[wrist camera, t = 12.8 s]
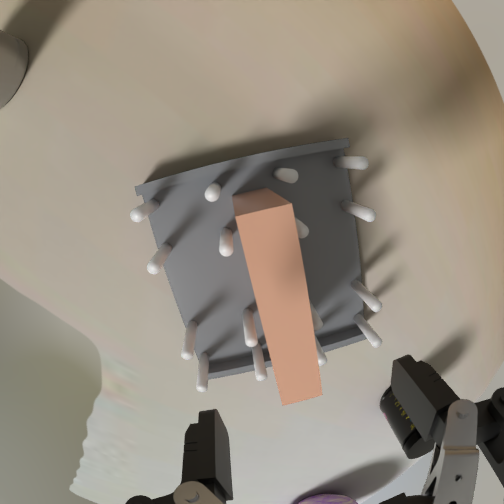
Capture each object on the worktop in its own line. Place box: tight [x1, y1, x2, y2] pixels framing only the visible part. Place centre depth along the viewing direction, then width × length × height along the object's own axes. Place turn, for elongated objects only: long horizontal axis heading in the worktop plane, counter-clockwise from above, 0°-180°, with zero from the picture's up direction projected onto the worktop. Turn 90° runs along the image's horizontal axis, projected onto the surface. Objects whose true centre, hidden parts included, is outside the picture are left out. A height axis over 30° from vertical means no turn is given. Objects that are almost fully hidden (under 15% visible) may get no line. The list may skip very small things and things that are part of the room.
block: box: [232, 188, 322, 405], centre depth 22 cm, size 14×3×10 cm, turn 13°
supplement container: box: [380, 387, 435, 459], centre depth 31 cm, size 7×7×10 cm
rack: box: [130, 138, 382, 392], centre depth 25 cm, size 18×20×6 cm
